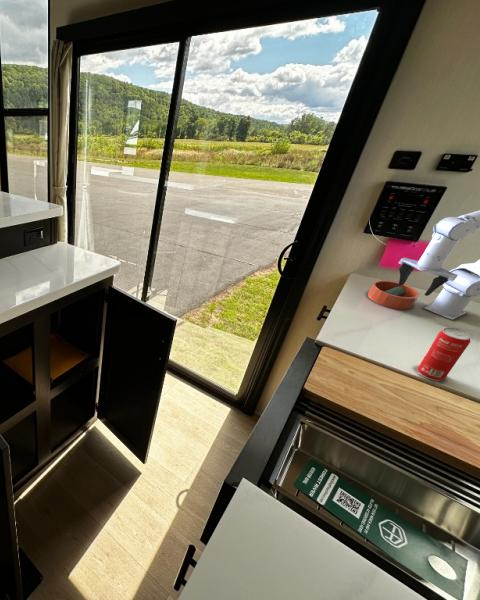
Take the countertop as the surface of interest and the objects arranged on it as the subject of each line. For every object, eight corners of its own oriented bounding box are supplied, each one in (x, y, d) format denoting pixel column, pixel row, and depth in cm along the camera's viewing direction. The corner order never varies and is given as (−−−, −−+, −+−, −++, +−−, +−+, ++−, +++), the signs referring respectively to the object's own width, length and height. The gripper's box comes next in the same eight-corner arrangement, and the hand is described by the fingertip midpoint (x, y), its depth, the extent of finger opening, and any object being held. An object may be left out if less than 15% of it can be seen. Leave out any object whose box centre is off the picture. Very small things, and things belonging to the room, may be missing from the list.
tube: (390, 293, 126) (395, 284, 124) (402, 298, 123) (408, 289, 121) (376, 299, 123) (381, 290, 121) (388, 304, 120) (394, 295, 118)
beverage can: (448, 383, 88) (484, 342, 80) (421, 380, 89) (453, 339, 81) (433, 368, 93) (465, 327, 85) (407, 365, 94) (437, 325, 86)
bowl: (380, 288, 130) (386, 277, 128) (419, 304, 120) (427, 292, 117) (360, 295, 126) (365, 285, 123) (399, 313, 116) (406, 301, 113)
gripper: (402, 248, 109) (383, 282, 116) (458, 265, 97) (433, 302, 105) (414, 245, 111) (394, 278, 118) (470, 261, 100) (444, 297, 107)
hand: (413, 289), depth 112 cm, fingers open, 7 cm apart
